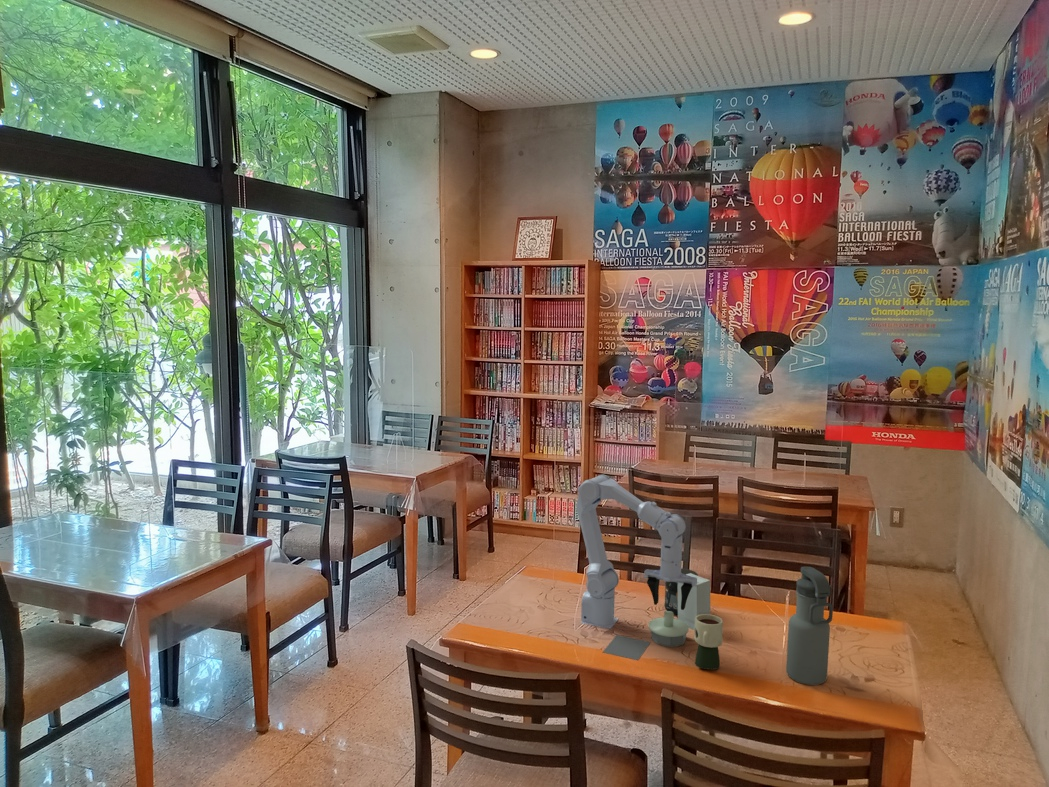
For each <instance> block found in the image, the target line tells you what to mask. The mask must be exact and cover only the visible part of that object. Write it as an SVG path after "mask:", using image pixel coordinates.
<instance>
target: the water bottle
mask: <svg viewBox="0 0 1049 787" xmlns="http://www.w3.org/2000/svg"><path fill="white" fill-rule="evenodd" d="M800 574H801V578H799V579H797V580H796V588H795V589H796V590H795V594H796V603H795V604H796V606H795V607H796V608H795V613H794V614H792V615H791V616H790V617H789V619H788V629H787V630H788V631H787V647H786V651H787V652H786V665H785V671H786V674H787V676H788V677H789V678H790V679H791V680H793V681H795V682H797V683H800V684H803V685H806V686H807V685H808V686H819V685H821V684H823V683H825V682H826V681H827V678H828V666H829V652H830V651H829V650H830V648H829V647H830V636H831V635H830V634H831V626H830V623H831V622H832V621H833V614H834V613H833V612H834V606H833V604H832V603H830V602H828V601H827V600H828V598H829V597H830V596H831V587H830V582H829V581H828V579H827V576H826V575H825V574H824V573H823V572H821V571H820V570H818V569H816V568H815V567H812V566H801V567H800ZM825 607H828V618H827V619H825V617H824V615H825V612H824V611H825Z"/></svg>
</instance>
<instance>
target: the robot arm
mask: <svg viewBox="0 0 1049 787" xmlns="http://www.w3.org/2000/svg"><path fill="white" fill-rule="evenodd" d="M577 493H578V497H577V501H576V510H577V517H578V521H579V524H580V527H581V532H582V537H583V541H584V545H585V550H586V554H587V560H588V563H589V564H588V565H589V566H588V568H587V570H586V585H585V586H586V590H585V591H584V593H583V594H582V598H581V612H580V613H581V615H580V616H581V618H580V619H581V620H580V624H585V625H589V626H593V627H600V628H603V629H608V630H610V629H611V628H613V626H614V625H615V624H616V623H617V621H618V620H619V618H618V617H615V593H616V592H615V590H616V588H617V586H618V585H619V582H620V579H619V575H618V573H617V572H616V570H615V568H614V564H613V563H612V562H611V561H610V560H609V559H608V558H607V553H606V548H605V543H604V539H603V535H602V530H601V527H600V522H599V519H598V513H597V510H596V509H597V507H598V506H599V505H600V503H601V501H605V500H614V501H617V502H618V503H619V504H621V505H623V506H625V507H627V508H629V509H631V510H632V511H634V512H636V514H637V517H638V519H639V520H641V521H642V522H644V523H645V524H647V525H649V526H650V527H652V528H653V529H655V530H656V531H658V534H659V536H660V538H661V539H660V540H661V542H660V543H661V544H660V566H659V567H660V568H659V569H645V570H644V575H643V576H644V577H643V578H644V579H647V580H646V585H647V586H648V588H649V589H650V592H651V595H652V599H653V605H655V606H656V605H657V604H659V601H660V598H659V597H660V596H659V590H660V589H659V588H660V580H661V581H664V582H665V581H668V582H677V583H683V585H682V587H681V596H682V600H681V610H684V609H685V605H686V601H687V598H688V595H689V593H690V591H691V589H692V587H693V586H696V585H697V578H696V577H692V576H688V575H685V574H682V573H681V568H682V558H683V554H682V553H683V552H682V551H683V533H684V532H686V526H687V525H686V522H685V520H684V518H683V517H682V516H681V515H679V514H676V513H674V514H672V512H670V511H666V510H664V509H662V508H661V507H660V506H658V505H657V502H655V501H650V500H649V501H642V500H641V499H639V498H638V497H637V496H635V495H634V494H632V493H631V491H628V490H627V489H625V488H624V487H623V486H621V485H620V484H618V482H617V481H616V480H615V479H613V478H610V477H609V476H608V475H606V474H598V475H597V476H595V477H593V478H590V479H586V480H584V481H583V482H581V484H580V485H579V486H578V488H577Z"/></svg>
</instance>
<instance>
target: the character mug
mask: <svg viewBox="0 0 1049 787" xmlns="http://www.w3.org/2000/svg"><path fill="white" fill-rule="evenodd" d="M723 629H724V620H723V618H721V617H720V616H718V615H714V614H711V613H710V614H701V615H697V616H696V617H695V630H694V635H693V636H694V641H695V643H697V644H698V646H697V650H696V653H695V660H694V661H695V662H694V664H695V665H696V667H697V668H699V669H704V670H717V669H719V668H720V665H721V664H720V651H719V647H721V646H722V644H723V635H724V633H723V632H724V630H723Z"/></svg>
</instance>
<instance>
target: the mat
mask: <svg viewBox="0 0 1049 787" xmlns="http://www.w3.org/2000/svg"><path fill="white" fill-rule="evenodd" d="M650 644H651V641H647V640H643V639H639V638H633V637H630V636H624V635H620V634H616V635H615V636H614V637H613V639H612V640H611V641H610V642H609V644H608V645H607V646H606V647H605V648H604V649H603V651H602V653H604V654H608V655H612V656H616V657H622V658H626V659H628V660H629V659H630V660H635V661H639V660H640V658H641V657H642V655H643V654H644V652H646V649H647V648H648V647H649V645H650Z"/></svg>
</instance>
